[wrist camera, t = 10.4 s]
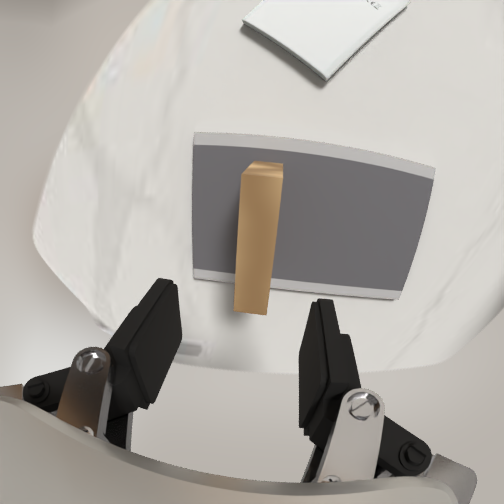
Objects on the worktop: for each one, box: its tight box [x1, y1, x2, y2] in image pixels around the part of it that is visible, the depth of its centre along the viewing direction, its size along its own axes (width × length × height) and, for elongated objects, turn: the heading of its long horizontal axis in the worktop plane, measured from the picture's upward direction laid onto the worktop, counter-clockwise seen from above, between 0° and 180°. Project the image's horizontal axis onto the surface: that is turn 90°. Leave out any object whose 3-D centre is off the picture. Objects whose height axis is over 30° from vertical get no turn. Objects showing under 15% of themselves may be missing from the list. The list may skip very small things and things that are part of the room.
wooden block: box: [234, 161, 283, 315], centre depth 19 cm, size 2×9×6 cm, turn 176°
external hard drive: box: [242, 0, 411, 81], centre depth 14 cm, size 2×8×12 cm
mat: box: [192, 132, 436, 300], centre depth 22 cm, size 20×13×1 cm, turn 86°
